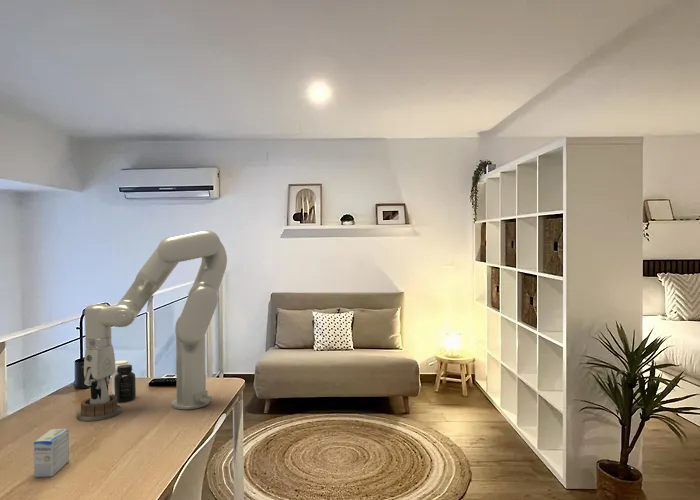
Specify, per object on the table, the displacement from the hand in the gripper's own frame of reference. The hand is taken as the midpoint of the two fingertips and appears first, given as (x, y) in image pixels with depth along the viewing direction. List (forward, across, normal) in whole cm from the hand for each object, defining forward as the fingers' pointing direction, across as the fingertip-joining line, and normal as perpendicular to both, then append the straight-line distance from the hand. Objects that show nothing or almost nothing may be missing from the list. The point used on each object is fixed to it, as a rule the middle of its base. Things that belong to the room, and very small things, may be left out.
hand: (99, 398), depth 157 cm
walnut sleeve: (+5, 0, 0) cm, 5 cm away
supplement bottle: (+5, +14, 0) cm, 15 cm away
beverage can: (+5, +20, +5) cm, 21 cm away
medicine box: (+5, -37, -12) cm, 39 cm away
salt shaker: (+3, 0, 0) cm, 3 cm away
